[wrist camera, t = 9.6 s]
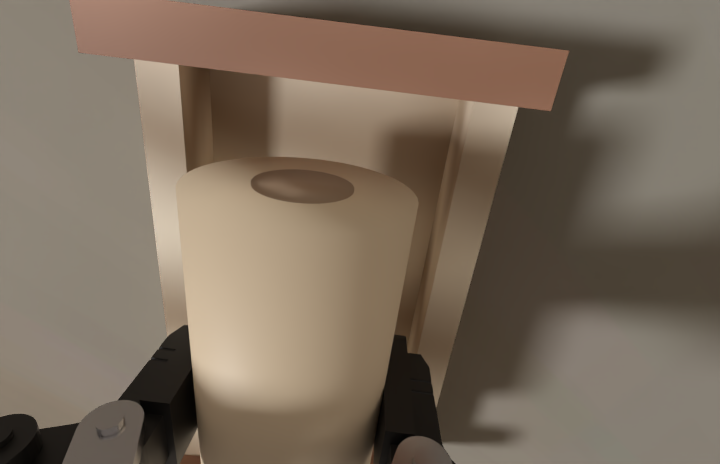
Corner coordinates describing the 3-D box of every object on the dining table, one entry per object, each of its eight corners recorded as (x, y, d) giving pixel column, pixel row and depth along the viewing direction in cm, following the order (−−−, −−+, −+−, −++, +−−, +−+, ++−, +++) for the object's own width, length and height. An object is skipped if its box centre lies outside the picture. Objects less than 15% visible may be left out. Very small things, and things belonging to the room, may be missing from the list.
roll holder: (180, 16, 12) (66, -13, 8) (500, 56, 12) (569, 50, 8) (209, 418, 20) (160, 520, 15) (407, 442, 20) (415, 551, 15)
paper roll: (226, 147, 10) (115, 212, 6) (406, 167, 10) (438, 247, 6) (236, 445, 15) (180, 608, 11) (358, 455, 15) (356, 620, 11)
